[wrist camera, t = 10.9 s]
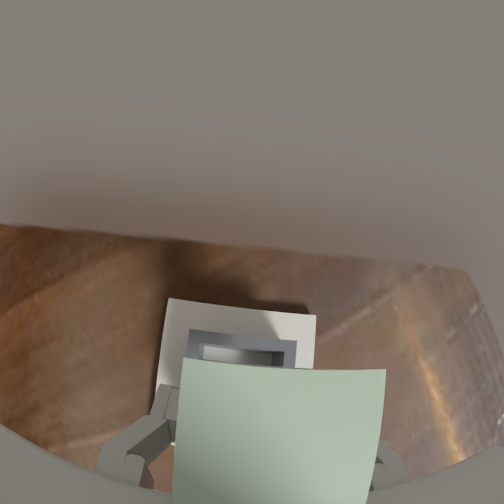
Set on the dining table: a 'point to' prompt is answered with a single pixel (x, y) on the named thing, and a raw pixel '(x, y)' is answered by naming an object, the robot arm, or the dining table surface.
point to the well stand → (232, 338)
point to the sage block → (275, 434)
